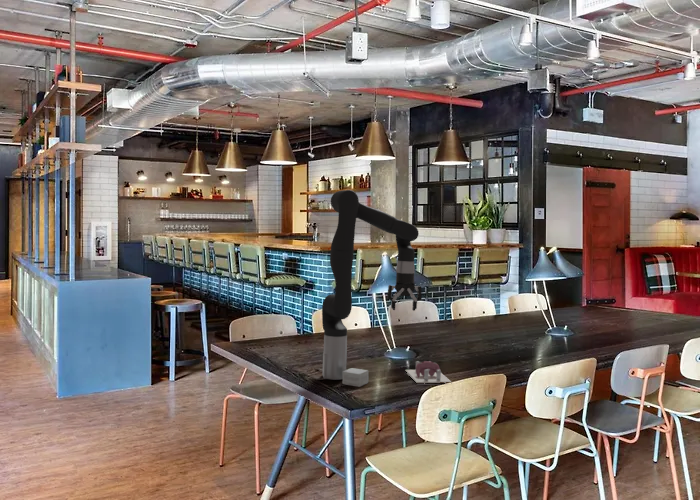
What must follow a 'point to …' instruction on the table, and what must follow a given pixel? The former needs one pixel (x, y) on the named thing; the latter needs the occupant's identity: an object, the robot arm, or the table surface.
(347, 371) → the small box
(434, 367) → the maroon arch piece
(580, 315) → the table surface
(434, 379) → the pin tray
